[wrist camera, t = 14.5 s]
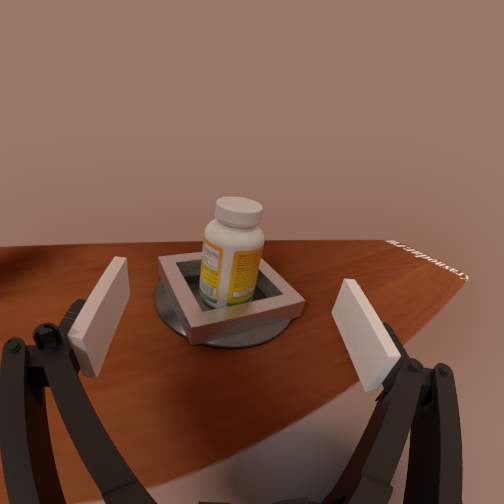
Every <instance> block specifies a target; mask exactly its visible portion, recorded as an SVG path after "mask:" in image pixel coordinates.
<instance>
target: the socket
mask: <svg viewBox="0 0 504 504" xmlns="http://www.w3.org/2000/svg"><path fill="white" fill-rule="evenodd" d="M201 262H202V252H196V253H187V254H178V255H170V256H161V257H158V273H159V275H160V278H161V279H160V281H159V282H158V284H157V286H156V289H155V306H156V309H157V312H158V314H159V316H160V317H161V319H162V320H163V321H164V323H165V324H166V325H167V326H168V327H169V328H170V329H172V330H173V331H174V332H176V333H177V334H179V335H180V336H182V337H184V338H186V339H188V340H189V342H190V344H191V345H195V344H201V345H204V346H209V347H214V348H221V349H242V348H250V347H254V346H258V345H261V344H264V343H267V342H269V341H271V340H273V339H274V338H276V337H277V336H279V335H280V334H281V333H282V332H283V331H284V330H285V329H286V328H287V326H288V325H289V323H290V321H291V319H294V318H298V317H300V316H301V313H302V310H303V307H304V304H305V301H306V300H305V299H304V298H303V297H302V296H300V295H299V294H298V293H297V292H296V291H295V290H294V289H293V288H292V287H291V286H290V285H289V284H288V283H287V282H286V281H285V280H284V279H283V278H282V277H281V276H280V275H279V274H278V273H277V272H276V271H274V270H273V269H272V268H271V267H270V266H269V265H268V264H267V263H266V262H265V261H264V260H263V259H262V258H261V260H260V265H259V270H258V275H257V280H256V285H255V290H254V294H253V298H252V301H251V302H248V303H243V304H238V305H234V306H229V307H224V308H219V309H215V308H213V307H211V306H209V305H208V304H206V303H205V302H204V301H203V300H202V298H201V296H200V292H199V286H200V274H201Z"/></svg>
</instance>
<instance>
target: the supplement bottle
mask: <svg viewBox="0 0 504 504" xmlns="http://www.w3.org/2000/svg"><path fill="white" fill-rule="evenodd" d="M262 210H263V207H262V205H261V204H260V203H258V202H256V201H254V200H251V199H247V198H243V197H222V198H219V199H218V200H217V201H216V206H215V212H214V215H215V218H216V219H214V220H213V221H211V222H210V223H209V224H208V225H207V227H206V228H205V232H204V241H203V251H202V262H201V274H200V286H199V292H200V296H201V298H202V300H203V301H204V302H205V303H206V304H208V305H209V306H211V307H213V308H215V309H219V308H224V307H229V306H234V305H238V304H243V303H248V302H251V301H252V298H253V294H254V290H255V285H256V280H257V275H258V270H259V265H260V260H261V255H262V251H263V246H264V241H265V237H264V233H263V231H262V229H261V228H260V227H259V226H258V224H259V222H260V221H261V217H262Z"/></svg>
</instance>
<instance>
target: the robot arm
mask: <svg viewBox="0 0 504 504" xmlns="http://www.w3.org/2000/svg"><path fill="white" fill-rule="evenodd" d="M129 298H130V290H129V280H128V269H127V258H123V257H114V259H113V260H112V261H111V263H110V265H109V266H108V268H107V269H106V271H105V272H104V274H103V275H102V277H101V278H100V280H99V282H98V283H97V285H96V286H95V288H94V290H93V291H92V293H91V294H90V296H89V298H88V299H87V300H82V299H78V300H77V301H76V302H74V303H73V304H72V305H71V306H70V308H69V310H68V312H67V313H66V315H65V316H64V318H63V319H62V321H61V323H60V324H59V326H58V327H57V326H56V325H55V324H53V323H43V324H41V325H39V326H38V327H37V328H36V329H35V330H34V332H33V339H34V341H35V343H36V345H26V344H25V342H24V341H23V339H21V338H16V337H15V338H11V339H9V340H8V341H7V342H6V343H5V344H4V347H3V352H2V360H1V371H0V448H1V457H2V465H3V472H4V478H5V484H6V489H7V494H8V499H9V503H10V504H66V502H65V499H64V495H63V492H62V489H61V485H60V481H59V478H58V474H57V469H56V465H55V461H54V456H53V451H52V446H51V440H50V434H49V427H48V419H47V411H46V401H45V387H50V388H51V391H52V394H53V396H54V399H55V402H56V404H57V407H58V409H59V412H60V414H61V417H62V419H63V421H64V424H65V426H66V428H67V430H68V433H69V435H70V437H71V439H72V441H73V443H74V445H75V447H76V449H77V451H78V453H79V455H80V457H81V459H82V461H83V462H84V464H85V466H86V468H87V470H88V471H89V473H90V475H91V476H92V478H93V480H94V481H95V483H96V485H97V486H98V488H99V490H100V491H101V493H102V497H103V499H104V501H105V503H106V504H157V503H156V502H155V500H154V499H153V498H152V497H151V496H150V494H149V493H148V492H147V491H146V489H145V488H144V487H143V485H142V484H141V483H140V482H139V480H138V479H137V478H136V476H135V475H134V473H133V472H132V471H131V469H130V468H129V466H128V465H127V463H126V462H125V461H124V459H123V458H122V456H121V454H120V453H119V451H118V450H117V448H116V447H115V445H114V444H113V442H112V440H111V439H110V437H109V435H108V434H107V432H106V430H105V428H104V427H103V425H102V423H101V421H100V420H99V418H98V416H97V414H96V412H95V410H94V408H93V406H92V405H91V403H90V401H89V399H88V397H87V394H86V392H85V390H84V388H83V386H82V384H81V382H80V380H79V377H78V372H79V370H80V369H81V372H82V374H83V376H86V377H90V378H94V379H97V378H98V375H99V373H100V370H101V367H102V364H103V361H104V359H105V356H106V353H107V351H108V348H109V346H110V343H111V341H112V338H113V336H114V333H115V331H116V328H117V326H118V323H119V321H120V318H121V316H122V314H123V311H124V309H125V307H126V304H127V302H128V300H129ZM331 313H332V316H333V318H334V320H335V322H336V325H337V327H338V329H339V332H340V334H341V336H342V338H343V341H344V343H345V345H346V348H347V350H348V352H349V355H350V357H351V360H352V362H353V364H354V367H355V369H356V372H357V374H358V377H359V379H360V381H361V384H362V386H363V389H364V391H365V392H369V391H376V390H377V389H378V388H379V387H380V385H381V384H382V385H383V387H384V390H383V391H382V392H381V393H380V395H379V396H378V397H377V399H376V400H375V401H377V400H378V399H379V400H378V402H377V405H376V407H375V409H374V412H373V414H372V416H371V418H370V420H369V423H368V425H367V427H366V429H365V431H364V433H363V435H362V437H361V439H360V441H359V443H358V445H357V447H356V449H355V451H354V453H353V455H352V457H351V459H350V461H349V462H348V464H347V466H346V468H345V470H344V471H343V473H342V475H341V477H340V478H339V480H338V482H337V483H336V485H335V487H334V488H333V490H332V491H331V492H330V493H329V495H327V497H326V498H325V499H324V500H323V501H322V502H321V504H387V503H388V501H389V499H390V497H391V494H392V491H393V487H392V486H390V483H391V480H392V478H393V475H394V473H395V470H396V468H397V465H398V462H399V460H400V457H401V454H402V451H403V448H404V445H405V443H406V440H407V436H408V433H409V430H410V427H411V432H410V449H409V461H408V471H407V480H406V487H405V493H404V500H403V504H463V503H462V440H461V428H460V418H459V409H458V401H457V394H456V388H455V381H454V376H453V372H452V370H451V369H450V367H449V366H447V365H446V364H443V363H438V364H437V365H436V366H435V367H434V369H429V368H424V367H423V365H422V364H421V363H420V362H419V361H418V360H416V359H413V358H409V356H408V355H407V353H406V351H405V349H404V348H403V346H402V344H401V342H400V341H399V339H398V337H397V336H396V334H395V332H394V331H393V329H392V328H391V327H390V326H389V325H388V324H387V323H382V322H381V321H380V319H379V317H378V316H377V314H376V312H375V311H374V309H373V308H372V306H371V304H370V303H369V301H368V300H367V298H366V296H365V295H364V293H363V292H362V290H361V289H360V287H359V285H358V284H357V282H356V281H355V280H354V279H344V281H343V284H342V286H341V289H340V292H339V294H338V297H337V300H336V302H335V305H334V307H333V310H332V312H331ZM199 504H229V503H212V502H199ZM273 504H319V503H315V502H309V501H308V497H307V498H300V499H292V500H284V501H280V502H276V503H273Z"/></svg>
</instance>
